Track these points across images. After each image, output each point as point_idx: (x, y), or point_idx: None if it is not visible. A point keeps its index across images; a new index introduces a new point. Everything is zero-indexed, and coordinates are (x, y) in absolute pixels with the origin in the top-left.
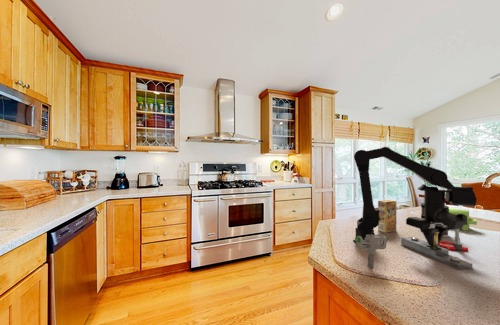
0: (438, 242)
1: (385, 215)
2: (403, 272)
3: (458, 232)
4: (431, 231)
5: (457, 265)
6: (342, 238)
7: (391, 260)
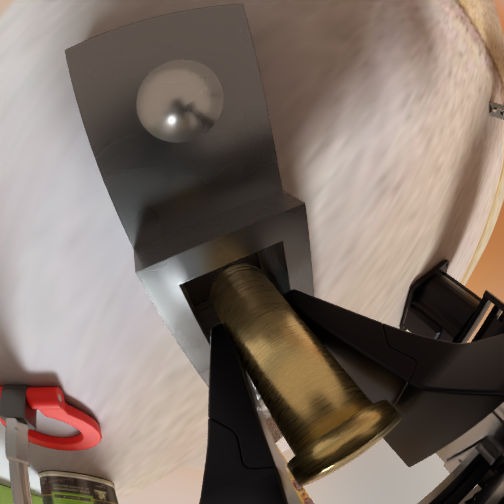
0: (233, 344)
1: (299, 499)
2: (462, 59)
3: (14, 491)
4: (490, 339)
5: (239, 13)
6: None
7: (452, 146)
